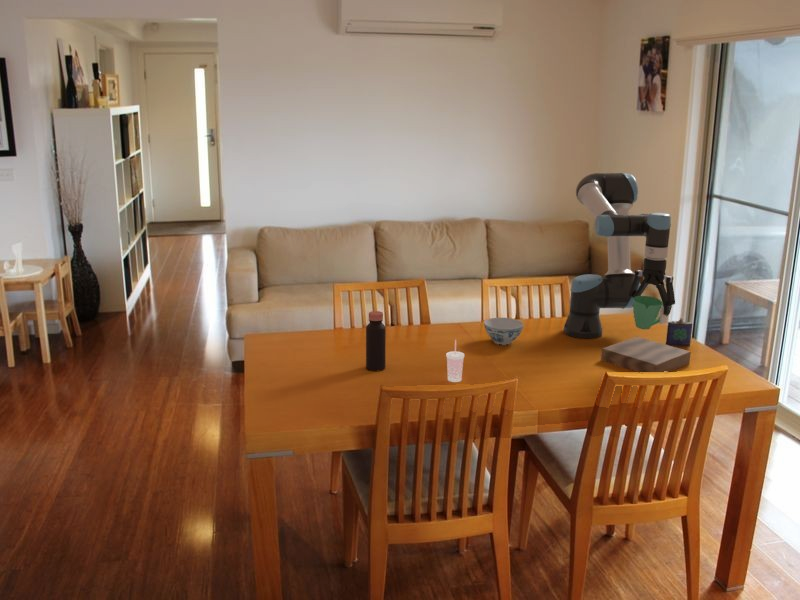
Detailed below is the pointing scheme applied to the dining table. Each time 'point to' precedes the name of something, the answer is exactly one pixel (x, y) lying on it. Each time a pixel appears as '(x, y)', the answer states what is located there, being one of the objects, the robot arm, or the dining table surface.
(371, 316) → the bottle
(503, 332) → the chinaware
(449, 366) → the beverage cup
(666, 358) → the walnut box
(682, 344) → the flask
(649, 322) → the mug
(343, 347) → the dining table surface
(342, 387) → the dining table surface
